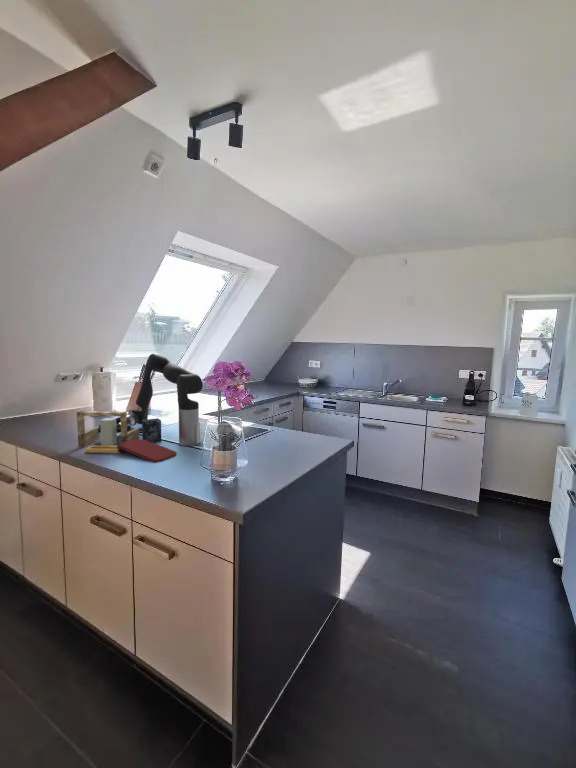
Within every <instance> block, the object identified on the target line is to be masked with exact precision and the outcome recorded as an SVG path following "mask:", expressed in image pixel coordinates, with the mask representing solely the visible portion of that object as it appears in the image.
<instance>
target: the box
mask: <svg viewBox="0 0 576 768" xmlns="http://www.w3.org/2000/svg"><path fill="white" fill-rule="evenodd" d="M141 432H142V433H141V434H142V435H141V436H142V439H144V440H147V441H149V442H152V443H156V442H157V443H158V442H162V420H161V419H160V418H150V419H147V420H142V424H141Z"/></svg>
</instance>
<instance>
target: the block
mask: <svg viewBox="0 0 576 768" xmlns="http://www.w3.org/2000/svg"><path fill="white" fill-rule="evenodd" d="M99 423H100V428H101V433H100V444H101V445H100V446H116V445H117V444H118V433H117V427H116V418H115V417H112V418H111V417H105V418H103V419H100V421H99Z"/></svg>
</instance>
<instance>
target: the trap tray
mask: <svg viewBox="0 0 576 768" xmlns="http://www.w3.org/2000/svg"><path fill="white" fill-rule="evenodd" d="M85 454H108V455H109V454H110V455H111V454H113V455H115V454H117V455H118V454H121V453H120V452H119V448H117V445H113V446H101V445H97V444H96V445H90V446H88V447H87V448H85Z"/></svg>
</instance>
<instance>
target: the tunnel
mask: <svg viewBox="0 0 576 768" xmlns="http://www.w3.org/2000/svg"><path fill="white" fill-rule="evenodd" d="M127 414H128V411H108V410H107V411H104V410H103V411H102V410H101V411H100V410H79V411H76V423H77V425H76V426H77V442H78V443H77V445H78V447H77V448H78V449H83V448H85V447H87V446H89V445H90V444H93V443H95V442H96V441H99V440H101V433H99V432H98V428H99V426H95V427H93V428H91V429H89V430H87V431H85V430H86V429H85V427H86V425H85V417H87V416H88V417H90V416H91V417H120V419H121V432H120V438H121V439H120V441H121V442H120V443H123V442H126V441H130V440H134V439H140V427H134V428H132V429H131V430H129V431H127Z"/></svg>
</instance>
